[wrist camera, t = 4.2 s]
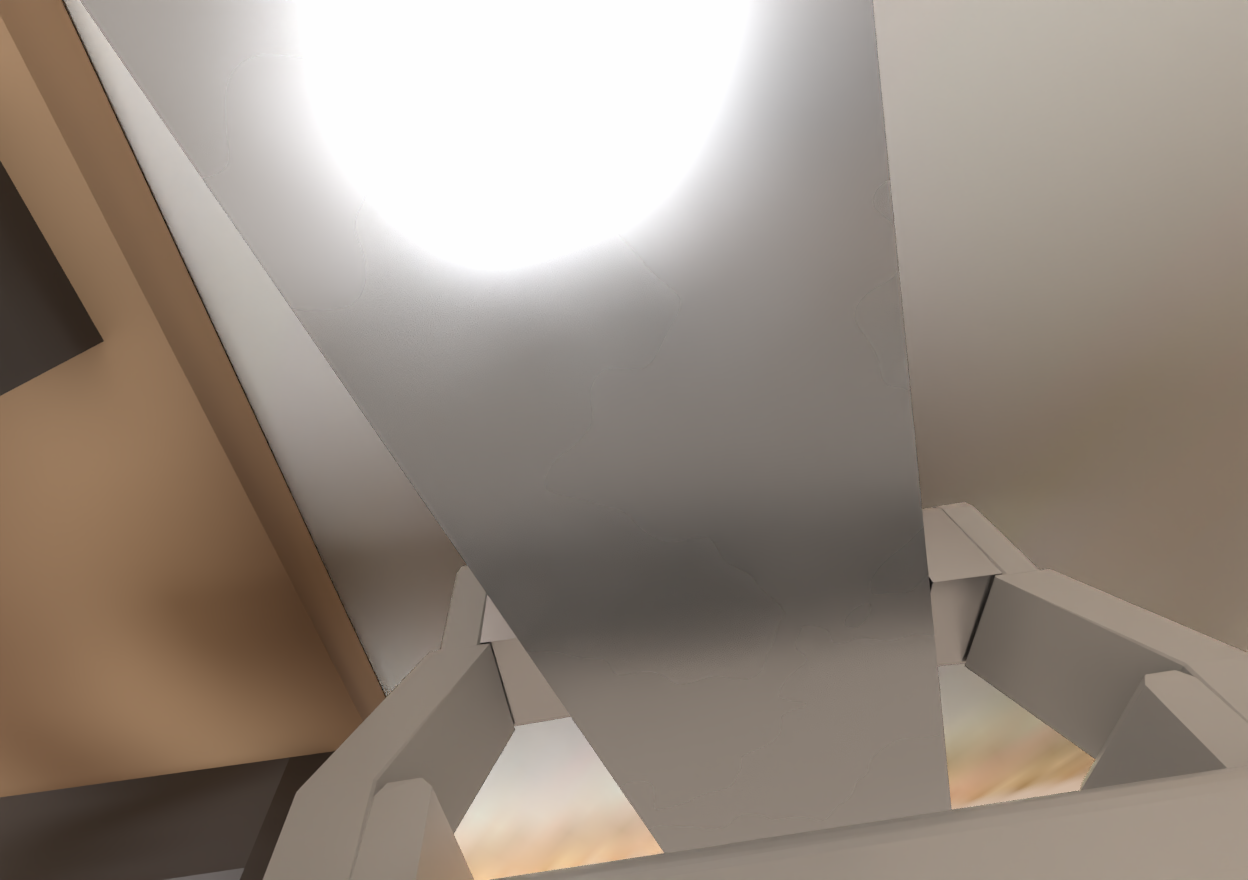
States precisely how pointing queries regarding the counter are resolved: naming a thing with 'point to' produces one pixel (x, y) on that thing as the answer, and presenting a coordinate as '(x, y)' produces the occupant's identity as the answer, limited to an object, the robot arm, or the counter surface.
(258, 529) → the stand
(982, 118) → the counter surface
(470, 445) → the rail
